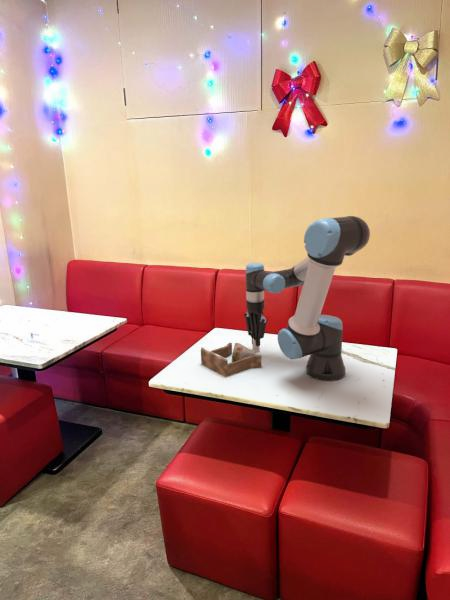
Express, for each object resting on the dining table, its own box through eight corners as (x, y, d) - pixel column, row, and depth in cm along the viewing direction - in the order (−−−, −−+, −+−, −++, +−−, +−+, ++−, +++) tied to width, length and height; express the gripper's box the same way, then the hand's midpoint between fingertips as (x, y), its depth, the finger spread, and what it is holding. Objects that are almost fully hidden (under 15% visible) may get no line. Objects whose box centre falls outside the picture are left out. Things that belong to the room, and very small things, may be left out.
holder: (262, 367, 175) (262, 349, 173) (229, 379, 165) (228, 361, 163) (230, 352, 191) (230, 336, 189) (198, 363, 180) (197, 346, 178)
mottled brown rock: (256, 362, 179) (243, 347, 175) (238, 369, 184) (224, 354, 179) (258, 350, 185) (245, 334, 180) (240, 357, 189) (227, 342, 185)
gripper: (272, 301, 177) (272, 354, 183) (251, 295, 187) (252, 345, 193) (259, 305, 173) (259, 358, 179) (238, 298, 183) (240, 350, 189)
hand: (256, 352), depth 186 cm, fingers closed
